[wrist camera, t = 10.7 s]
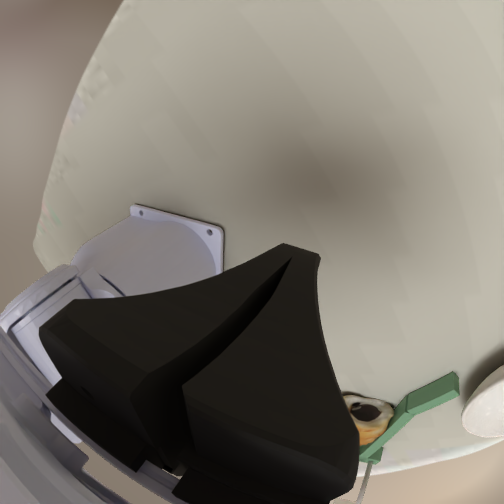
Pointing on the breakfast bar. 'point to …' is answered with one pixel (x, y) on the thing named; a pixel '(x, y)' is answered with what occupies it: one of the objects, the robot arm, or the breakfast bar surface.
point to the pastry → (369, 416)
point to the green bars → (405, 421)
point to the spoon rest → (486, 407)
